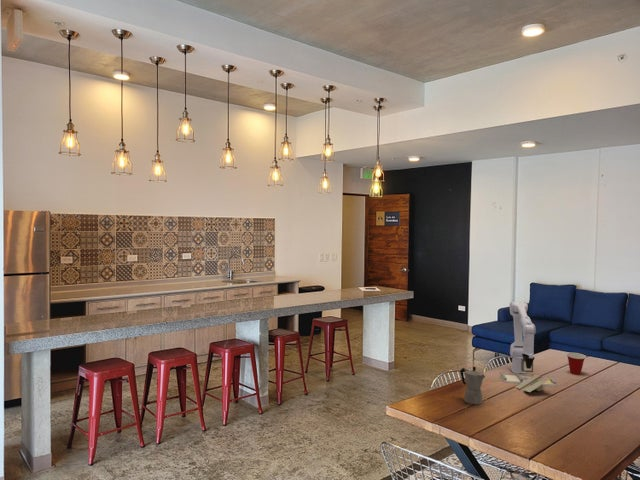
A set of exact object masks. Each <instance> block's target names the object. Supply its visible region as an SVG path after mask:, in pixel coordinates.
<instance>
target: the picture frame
mask: <svg viewBox="0 0 640 480" xmlns="http://www.w3.org/2000/svg"><path fill="white" fill-rule="evenodd" d="M521 371H522V372H526V373H534V361H533V362H532V366H531V369H529V368H527V367H526V361H525V358H521Z"/></svg>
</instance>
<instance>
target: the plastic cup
mask: <svg viewBox="0 0 640 480" xmlns="http://www.w3.org/2000/svg"><path fill="white" fill-rule="evenodd" d="M566 356H567V360H568V361H567V362H568V366H569V372H570V374H572V375H577V376H579V375H581V373H582V370H583V365H584V362H585V359H586V357H587V356H586V355H585V354H582V353H579V352H567V353H566Z"/></svg>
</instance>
